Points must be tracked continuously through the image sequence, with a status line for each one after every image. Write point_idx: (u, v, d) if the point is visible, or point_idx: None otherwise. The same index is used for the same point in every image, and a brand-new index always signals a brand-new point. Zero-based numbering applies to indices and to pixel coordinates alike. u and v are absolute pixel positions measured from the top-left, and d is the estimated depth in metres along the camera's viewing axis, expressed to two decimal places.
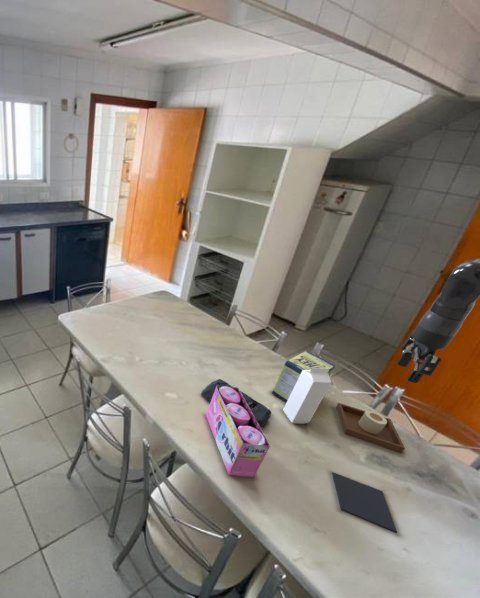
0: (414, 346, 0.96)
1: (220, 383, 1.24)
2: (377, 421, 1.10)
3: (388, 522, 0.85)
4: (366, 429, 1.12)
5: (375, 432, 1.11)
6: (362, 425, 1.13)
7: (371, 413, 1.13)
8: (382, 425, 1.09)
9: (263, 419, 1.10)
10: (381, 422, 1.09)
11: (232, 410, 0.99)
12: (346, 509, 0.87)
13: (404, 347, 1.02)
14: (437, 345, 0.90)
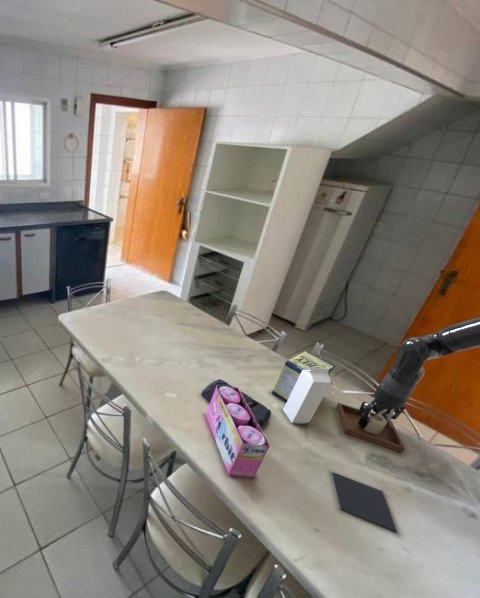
0: None
1: (220, 383, 1.24)
2: (377, 421, 1.10)
3: (388, 522, 0.85)
4: (366, 429, 1.12)
5: (375, 432, 1.11)
6: None
7: None
8: (382, 425, 1.09)
9: (263, 419, 1.10)
10: (381, 422, 1.09)
11: (232, 410, 0.99)
12: (346, 509, 0.87)
13: None
14: (380, 398, 1.07)
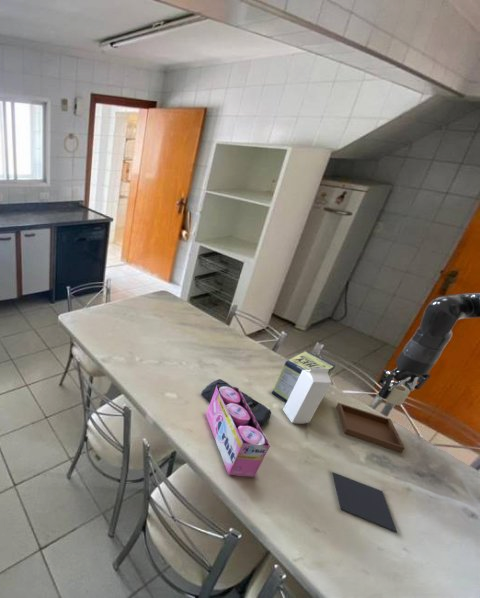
0: None
1: (220, 383, 1.24)
2: (399, 390, 1.03)
3: (388, 522, 0.85)
4: (387, 400, 1.05)
5: (397, 403, 1.04)
6: None
7: (392, 383, 1.06)
8: (405, 395, 1.02)
9: (263, 419, 1.10)
10: (404, 391, 1.02)
11: (232, 410, 0.99)
12: (346, 509, 0.87)
13: None
14: (403, 365, 1.00)
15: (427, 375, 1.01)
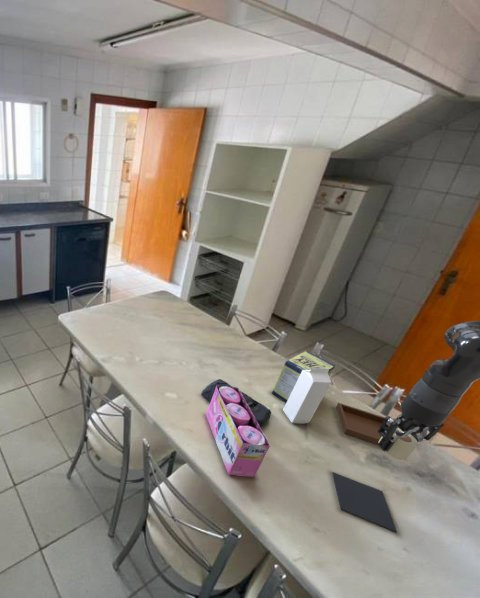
0: None
1: (220, 383, 1.24)
2: (405, 442, 0.81)
3: (388, 522, 0.85)
4: (389, 452, 0.84)
5: (402, 457, 0.83)
6: None
7: None
8: (412, 448, 0.81)
9: (263, 419, 1.10)
10: (410, 444, 0.81)
11: (232, 410, 0.99)
12: (346, 509, 0.87)
13: None
14: (410, 412, 0.78)
15: None
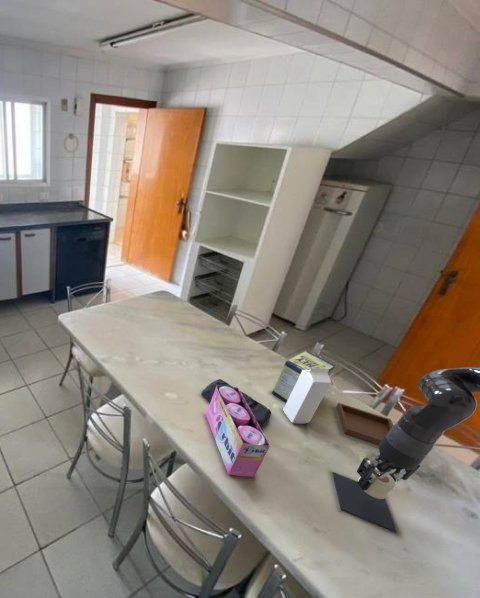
0: None
1: (220, 383, 1.24)
2: (382, 483, 0.84)
3: (388, 522, 0.85)
4: (368, 492, 0.86)
5: (380, 496, 0.85)
6: None
7: None
8: (389, 488, 0.83)
9: (263, 419, 1.10)
10: (388, 484, 0.83)
11: (232, 410, 0.99)
12: (346, 509, 0.87)
13: None
14: (386, 455, 0.81)
15: None
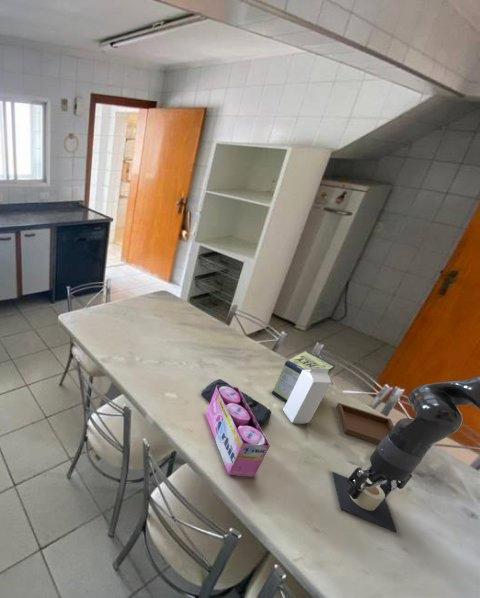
0: None
1: (220, 383, 1.24)
2: (372, 495, 0.86)
3: (388, 522, 0.85)
4: (359, 503, 0.88)
5: (370, 508, 0.87)
6: None
7: None
8: (379, 501, 0.86)
9: (263, 419, 1.10)
10: (377, 497, 0.86)
11: (232, 410, 0.99)
12: (346, 509, 0.87)
13: None
14: (377, 466, 0.83)
15: None
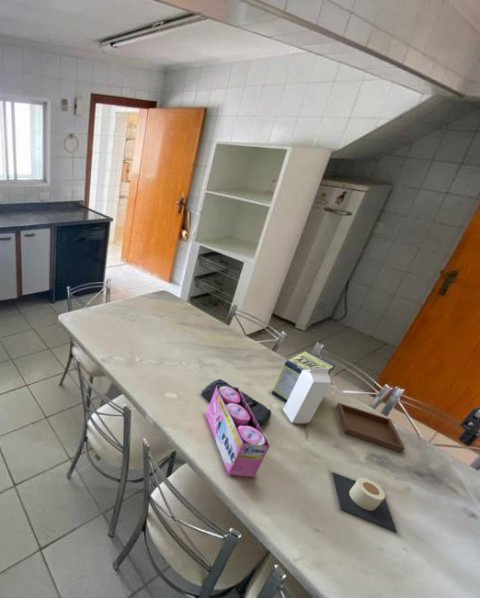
0: None
1: (220, 383, 1.24)
2: (372, 495, 0.86)
3: (388, 522, 0.85)
4: (359, 503, 0.88)
5: (370, 508, 0.87)
6: (354, 497, 0.89)
7: (365, 482, 0.89)
8: (379, 501, 0.86)
9: (263, 419, 1.10)
10: (377, 497, 0.86)
11: (232, 410, 0.99)
12: (346, 509, 0.87)
13: None
14: None
15: None
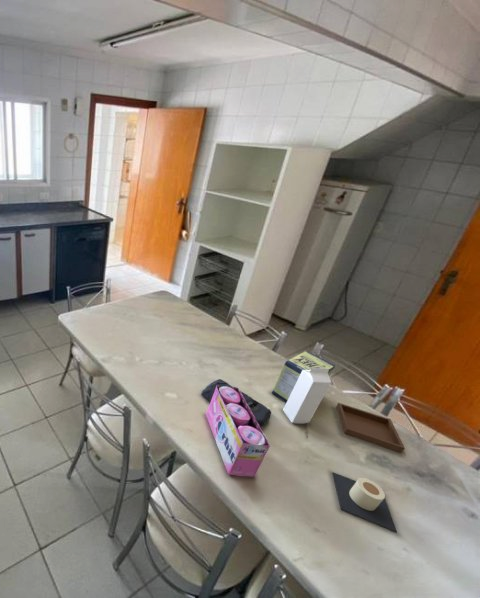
0: None
1: (220, 383, 1.24)
2: (372, 495, 0.86)
3: (388, 522, 0.85)
4: (359, 503, 0.88)
5: (370, 508, 0.87)
6: (354, 497, 0.89)
7: (365, 482, 0.89)
8: (379, 501, 0.86)
9: (263, 419, 1.10)
10: (377, 497, 0.86)
11: (232, 410, 0.99)
12: (346, 509, 0.87)
13: None
14: None
15: None
